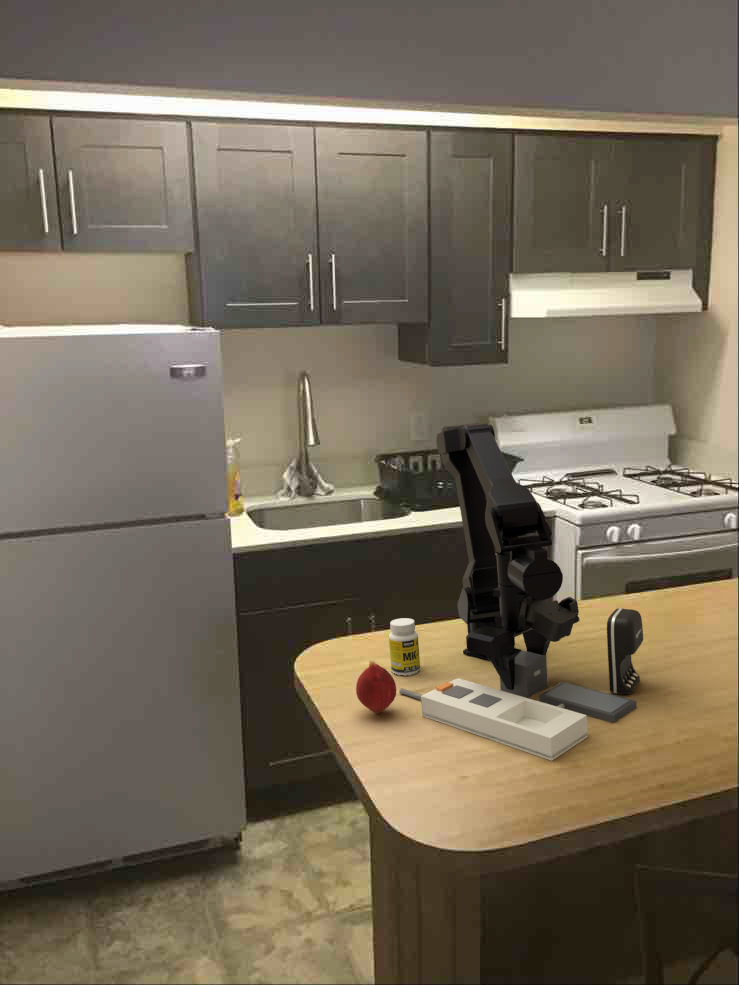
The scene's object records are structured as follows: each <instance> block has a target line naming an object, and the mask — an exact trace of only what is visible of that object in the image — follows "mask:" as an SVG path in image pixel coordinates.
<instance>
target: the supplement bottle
mask: <svg viewBox="0 0 739 985" xmlns="http://www.w3.org/2000/svg"><path fill="white" fill-rule="evenodd" d="M389 624H390V627H389V629H390V633H389V635H388V642H389V654H390V655H389V656H390V670H391V672H392V673H393V674H394V673H395V674H394V675H396V674H397V675H396V676H400V675H404V676H403V677H405V676H406V675H408V676H412V674H413V675H415V673H416V674H418V673H419V672H420V671H419V670H421V661H420V660H421V659H420V658H421V657H420V646H419V634H418V632H417V631H416V625H415V624H416V623H415V620H414V619H412V618H408V617H407V618H406V617H404V618H402V617H400V618H396V619H392V620H391V621H390V622H389ZM418 671H419V672H418Z"/></svg>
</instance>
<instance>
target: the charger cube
mask: <svg viewBox="0 0 739 985" xmlns="http://www.w3.org/2000/svg"><path fill="white" fill-rule="evenodd" d="M521 650H522V651H521V652H520V653H519V654H518V655H517V656H516V657H515V683H514V689H513V690H509V689H507V688H506V687H505V685H504V683H503V681H502V680H501V678H500V677H499V684H500V690H501V691H504V692H508V693H511V694H515V695H518V696H522V697H525V698H528V699H531V697H534V696H535V695H537V694H538V693H541V692H542V691H544V690H546V689H549V681H548V666H547V665H548V662H547V661H548V660H547V655H546V656H544V655H540V654H536V653H532V652H527V650H523V649H521Z"/></svg>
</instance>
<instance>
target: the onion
mask: <svg viewBox="0 0 739 985" xmlns="http://www.w3.org/2000/svg"><path fill="white" fill-rule="evenodd" d="M355 685H356V688H355V692H356V696H357V699H358V700H359V701H360V703H361V704H362V705H363V706H364V708H367V709H369V711H372V712H373V713H374V714H376V715H377V714H380V713H382V712H383V711H385V710H386V709H387V708H388V707H389V706H391V705H392V704H393V702H394V700H395V698H396V696H397V685H396V682H395V680H394V678H393V675H391V674H390V672H389V671H388V670H387V669H386V668H385V667H383V666H381V665H379V664H378V663H376V662H375V660H373V659H369V665H368V667H366V668H365V669H364V670H363V671H362V673H361V674H359V676H358V678H357V682H356V684H355Z"/></svg>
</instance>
